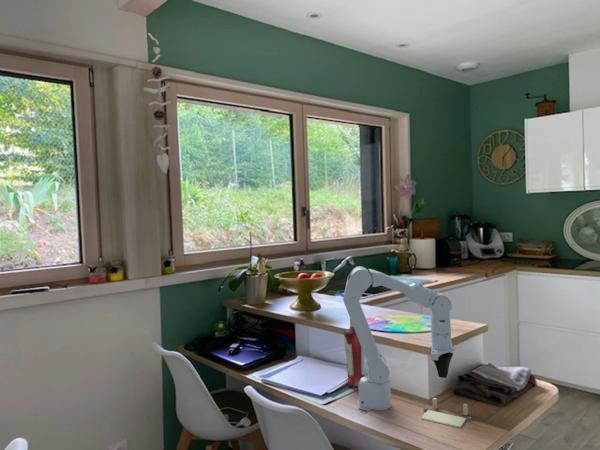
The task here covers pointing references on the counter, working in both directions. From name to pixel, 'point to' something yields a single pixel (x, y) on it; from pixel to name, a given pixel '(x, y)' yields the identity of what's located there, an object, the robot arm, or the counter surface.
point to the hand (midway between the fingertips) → (443, 376)
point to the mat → (465, 408)
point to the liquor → (354, 357)
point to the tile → (444, 418)
